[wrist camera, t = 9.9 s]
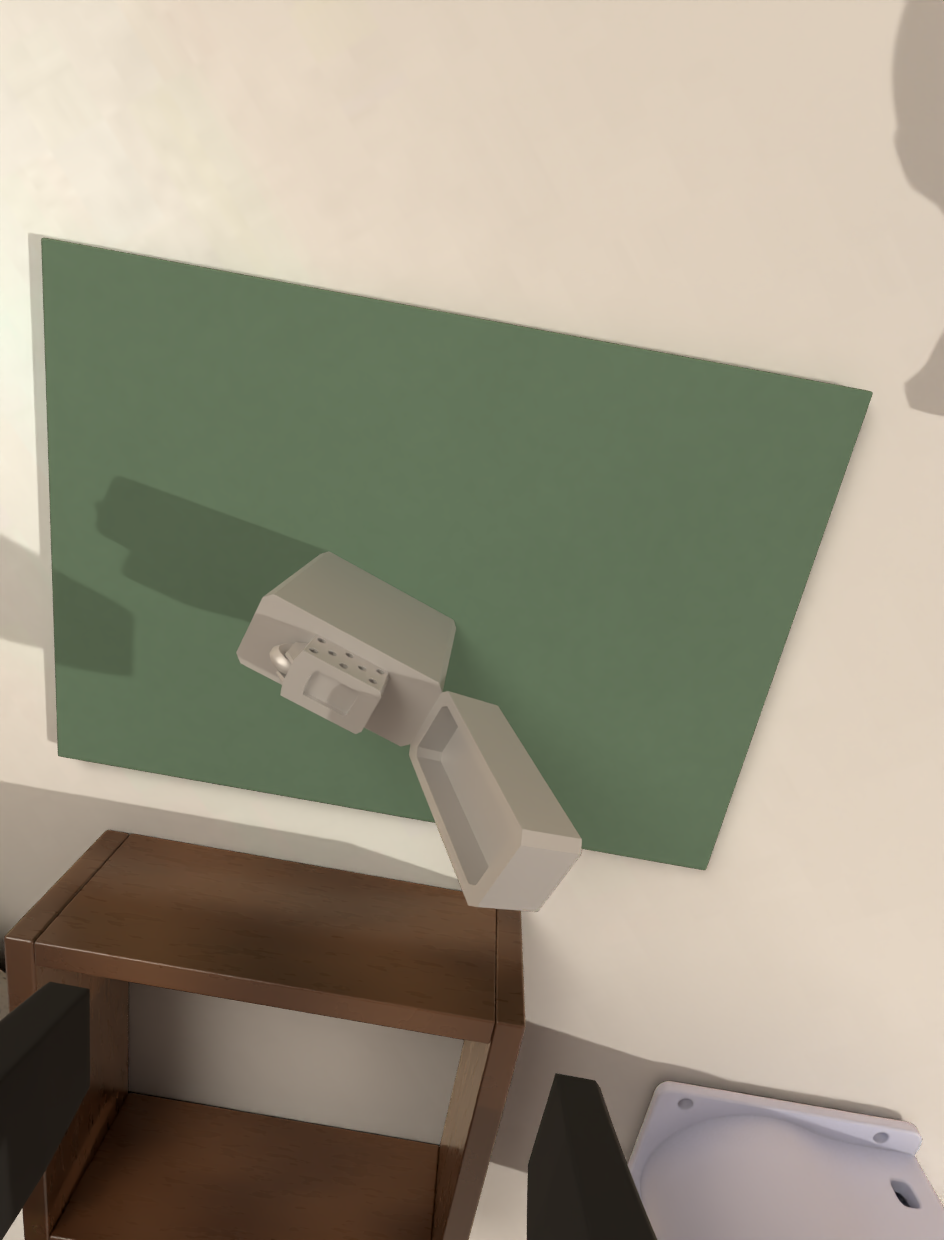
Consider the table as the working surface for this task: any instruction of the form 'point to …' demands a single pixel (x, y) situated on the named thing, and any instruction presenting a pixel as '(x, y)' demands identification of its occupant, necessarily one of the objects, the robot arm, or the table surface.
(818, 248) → the table surface
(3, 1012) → the ceramic mug
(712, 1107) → the robot arm
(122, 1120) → the walnut box
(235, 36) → the table surface
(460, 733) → the lighter
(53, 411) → the rubber mat
